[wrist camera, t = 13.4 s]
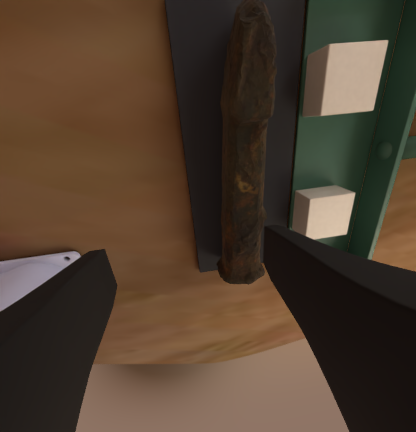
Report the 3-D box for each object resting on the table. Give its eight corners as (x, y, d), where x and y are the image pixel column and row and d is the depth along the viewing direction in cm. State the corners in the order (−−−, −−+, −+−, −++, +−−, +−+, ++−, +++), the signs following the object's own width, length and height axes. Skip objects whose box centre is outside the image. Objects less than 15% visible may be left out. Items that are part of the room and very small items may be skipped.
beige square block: (291, 228, 21) (305, 241, 19) (295, 190, 19) (310, 199, 17) (329, 223, 21) (346, 234, 19) (336, 184, 19) (355, 192, 17)
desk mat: (199, 270, 22) (199, 272, 21) (164, -1, 13) (164, -4, 13) (282, 257, 22) (284, 259, 22) (302, -7, 14) (306, -11, 13)
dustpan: (284, 264, 23) (297, 281, 20) (308, -28, 13) (340, -64, 11) (419, 242, 24) (447, 256, 22) (529, -36, 15) (603, -69, 12)
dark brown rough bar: (253, 258, 21) (271, 290, 17) (214, 261, 21) (224, 296, 17) (277, 19, 14) (321, -28, 10) (217, 15, 13) (237, -36, 9)
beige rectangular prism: (301, 117, 17) (320, 116, 14) (307, 55, 15) (329, 43, 13) (348, 112, 17) (374, 110, 15) (359, 51, 15) (389, 39, 13)
